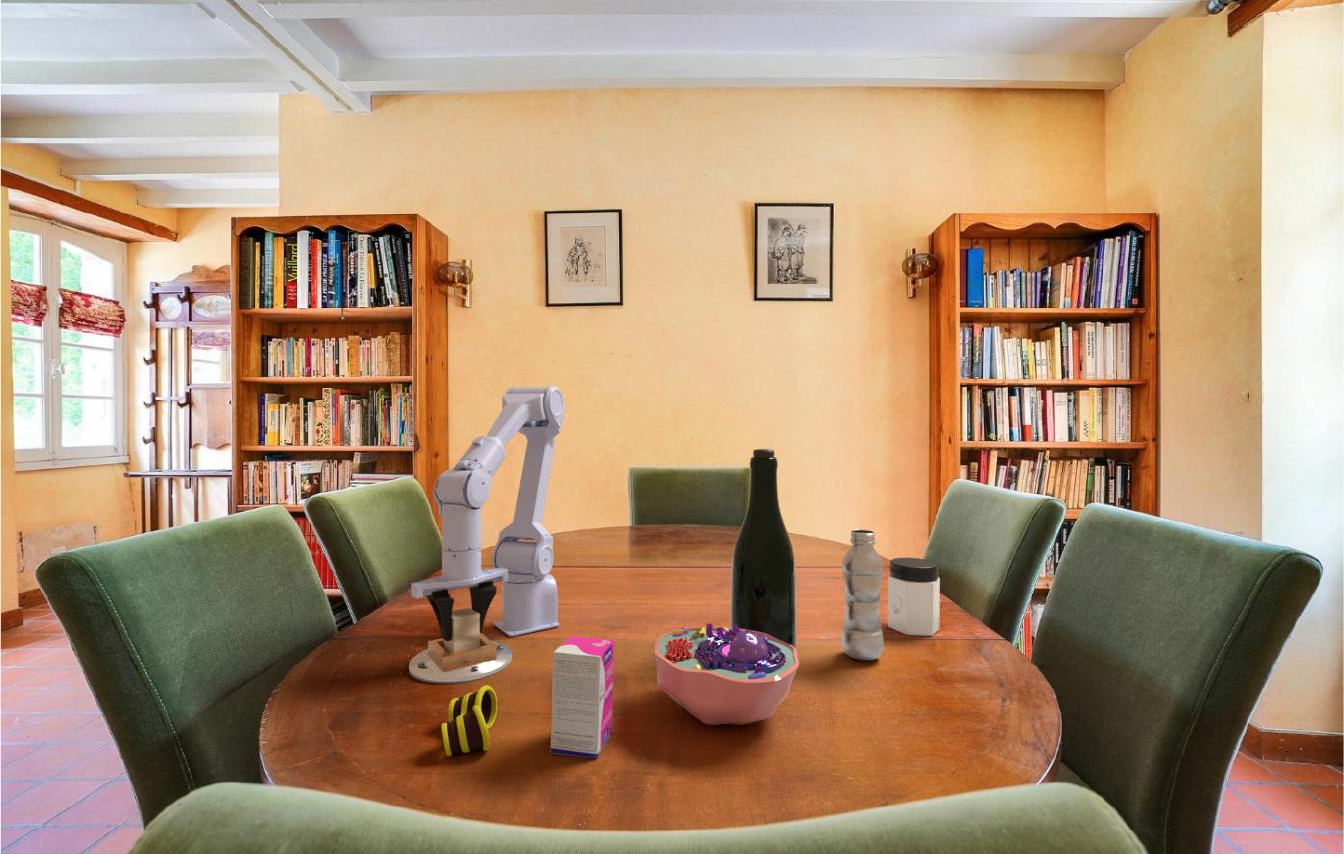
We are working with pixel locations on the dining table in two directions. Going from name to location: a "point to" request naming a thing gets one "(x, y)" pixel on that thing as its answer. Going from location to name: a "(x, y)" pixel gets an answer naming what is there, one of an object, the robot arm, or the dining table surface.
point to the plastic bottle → (862, 598)
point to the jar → (914, 596)
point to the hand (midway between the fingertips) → (461, 635)
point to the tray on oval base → (459, 662)
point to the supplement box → (582, 696)
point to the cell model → (725, 672)
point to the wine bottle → (764, 559)
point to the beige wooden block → (464, 631)
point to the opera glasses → (470, 721)
